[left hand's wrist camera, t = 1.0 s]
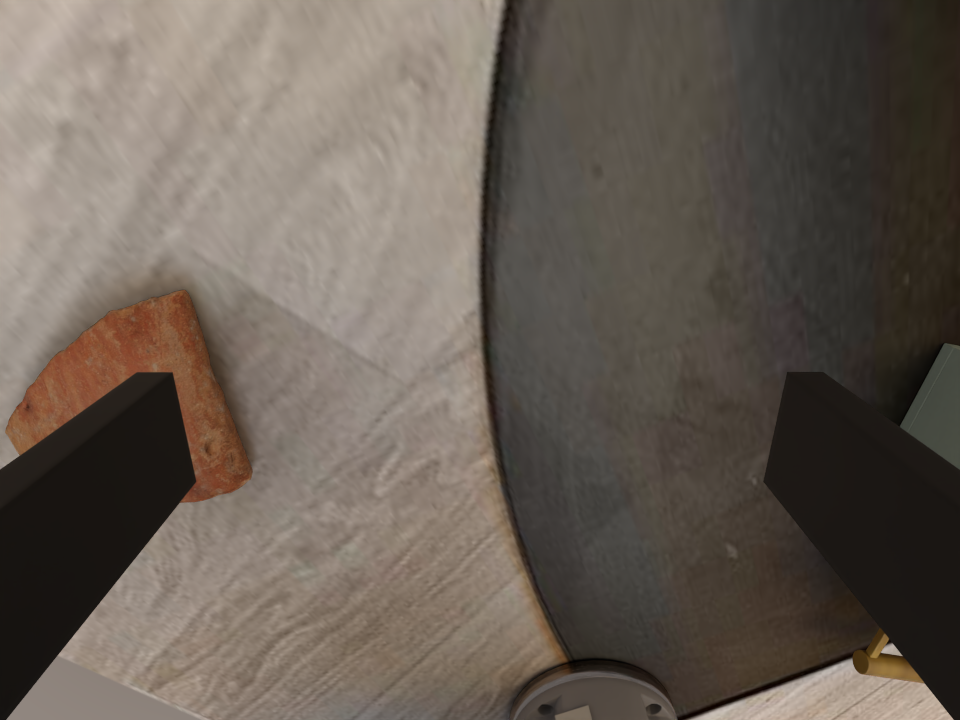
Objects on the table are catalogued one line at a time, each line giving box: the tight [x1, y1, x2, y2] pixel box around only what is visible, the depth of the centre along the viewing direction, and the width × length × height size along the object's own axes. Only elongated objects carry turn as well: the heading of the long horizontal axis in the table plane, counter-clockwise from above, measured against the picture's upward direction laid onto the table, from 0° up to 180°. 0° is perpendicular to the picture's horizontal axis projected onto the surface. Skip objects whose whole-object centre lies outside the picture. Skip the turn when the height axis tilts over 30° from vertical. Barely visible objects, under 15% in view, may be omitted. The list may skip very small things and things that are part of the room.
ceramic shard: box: [5, 290, 253, 503], centre depth 40 cm, size 15×6×15 cm
